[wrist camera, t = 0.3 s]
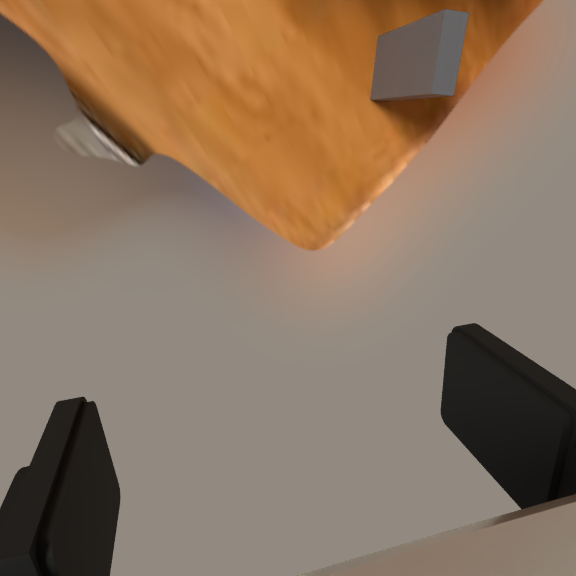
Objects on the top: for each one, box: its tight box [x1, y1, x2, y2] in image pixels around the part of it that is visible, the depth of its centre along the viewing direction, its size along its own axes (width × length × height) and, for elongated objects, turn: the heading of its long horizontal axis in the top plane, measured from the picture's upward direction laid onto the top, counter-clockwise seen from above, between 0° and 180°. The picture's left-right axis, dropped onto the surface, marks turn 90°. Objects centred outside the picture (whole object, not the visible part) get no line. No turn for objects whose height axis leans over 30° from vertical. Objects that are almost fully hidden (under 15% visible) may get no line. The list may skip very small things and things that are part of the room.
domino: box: [371, 9, 469, 101], centre depth 33 cm, size 2×5×10 cm, turn 176°
